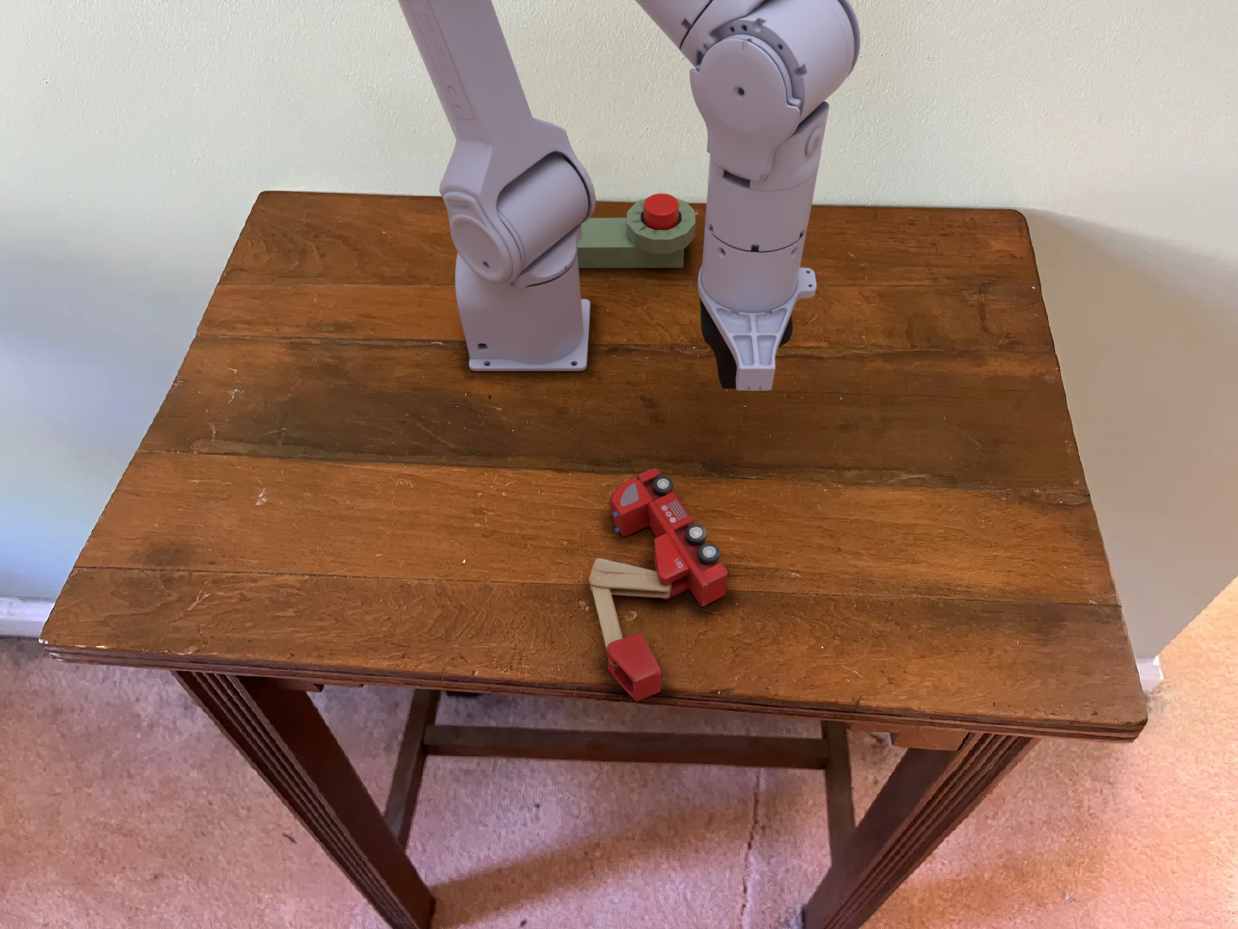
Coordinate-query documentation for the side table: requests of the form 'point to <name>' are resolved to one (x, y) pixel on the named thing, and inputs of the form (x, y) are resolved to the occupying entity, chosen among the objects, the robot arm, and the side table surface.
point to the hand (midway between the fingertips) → (736, 381)
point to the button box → (635, 241)
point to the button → (661, 211)
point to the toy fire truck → (652, 573)
